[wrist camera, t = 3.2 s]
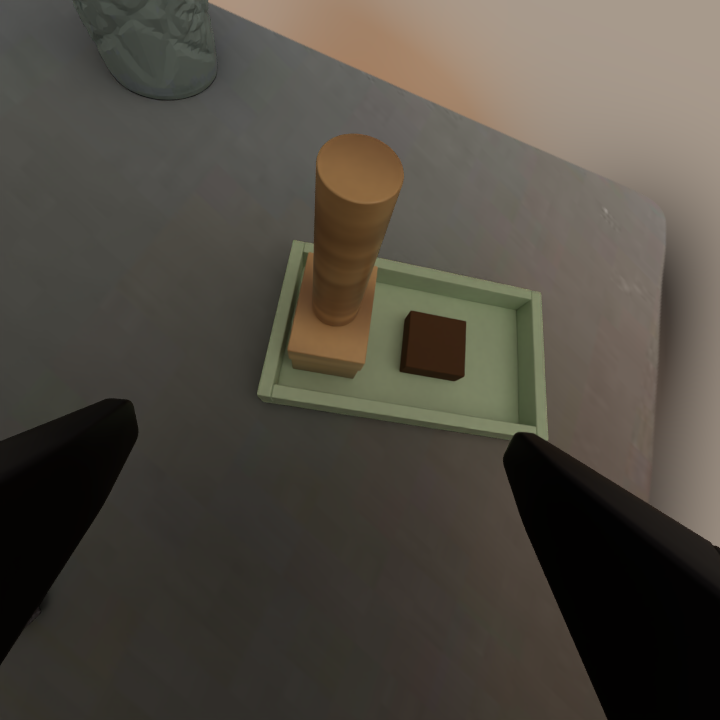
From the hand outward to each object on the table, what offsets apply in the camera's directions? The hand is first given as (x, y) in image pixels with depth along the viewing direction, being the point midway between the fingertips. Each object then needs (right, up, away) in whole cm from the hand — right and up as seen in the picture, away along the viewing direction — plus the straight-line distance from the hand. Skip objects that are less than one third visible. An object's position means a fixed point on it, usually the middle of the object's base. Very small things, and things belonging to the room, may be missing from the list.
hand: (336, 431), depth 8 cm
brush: (-1, +4, +14) cm, 15 cm away
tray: (+4, +2, +15) cm, 16 cm away
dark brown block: (+5, +2, +15) cm, 16 cm away
